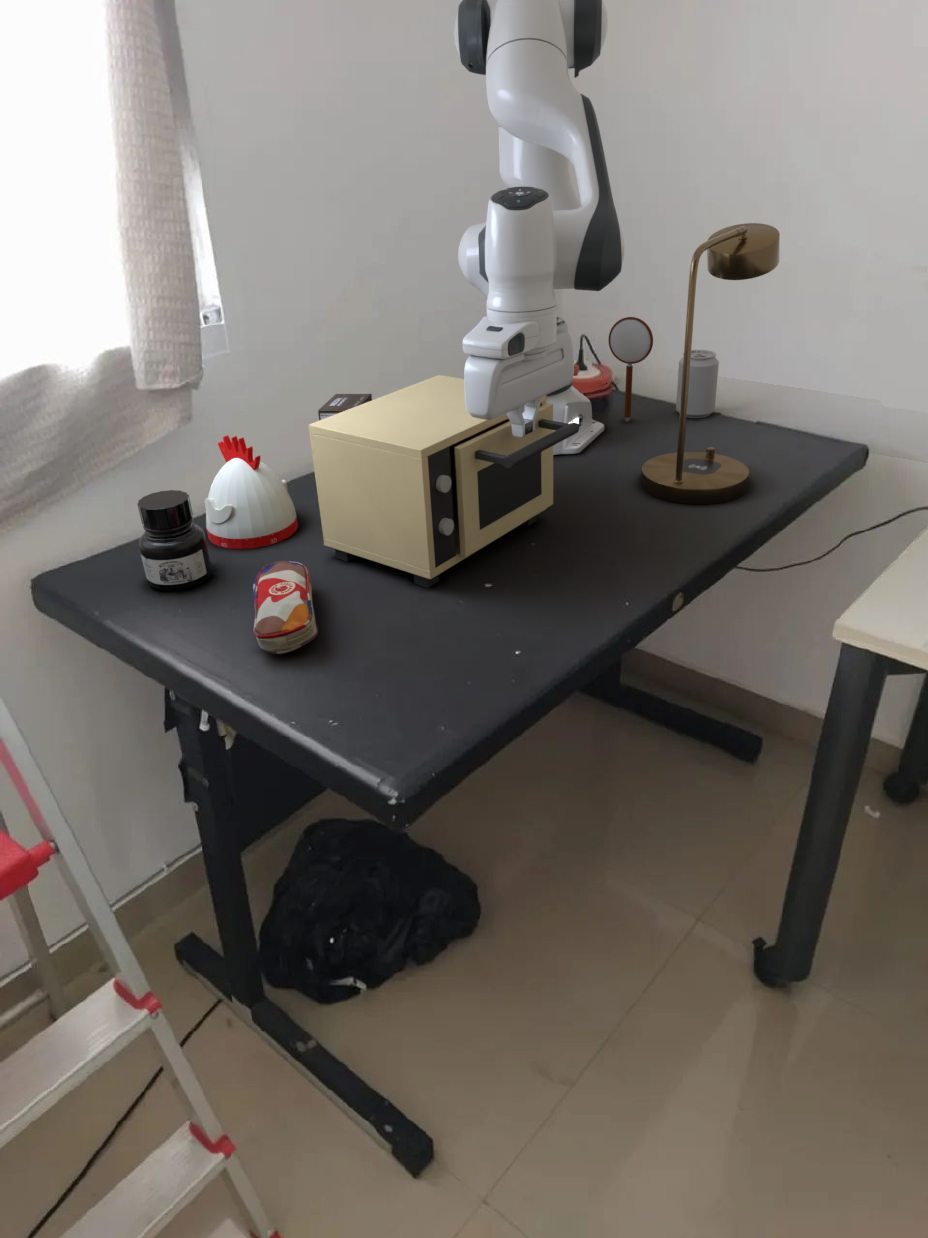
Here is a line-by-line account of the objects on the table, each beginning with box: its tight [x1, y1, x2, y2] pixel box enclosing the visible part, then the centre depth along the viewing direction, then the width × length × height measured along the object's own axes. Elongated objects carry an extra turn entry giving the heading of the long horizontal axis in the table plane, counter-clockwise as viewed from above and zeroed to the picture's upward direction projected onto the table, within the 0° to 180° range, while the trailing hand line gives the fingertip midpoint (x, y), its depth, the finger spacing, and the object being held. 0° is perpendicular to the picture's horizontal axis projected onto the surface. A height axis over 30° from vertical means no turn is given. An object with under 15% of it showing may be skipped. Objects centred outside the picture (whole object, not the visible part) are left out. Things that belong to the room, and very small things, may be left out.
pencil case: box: [252, 560, 319, 655], centre depth 120 cm, size 11×20×5 cm, turn 177°
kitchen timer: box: [204, 434, 299, 550], centre depth 144 cm, size 14×14×15 cm
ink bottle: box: [136, 489, 212, 592], centre depth 131 cm, size 10×9×12 cm
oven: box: [308, 374, 548, 589], centre depth 136 cm, size 28×21×20 cm
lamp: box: [640, 222, 781, 505], centre depth 149 cm, size 17×27×38 cm, turn 145°
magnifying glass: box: [608, 316, 654, 423], centre depth 179 cm, size 9×2×20 cm, turn 62°
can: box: [675, 349, 720, 419], centre depth 184 cm, size 8×8×12 cm
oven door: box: [455, 403, 579, 558], centre depth 130 cm, size 22×7×15 cm, turn 142°
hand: (523, 433), depth 127 cm, fingers closed
